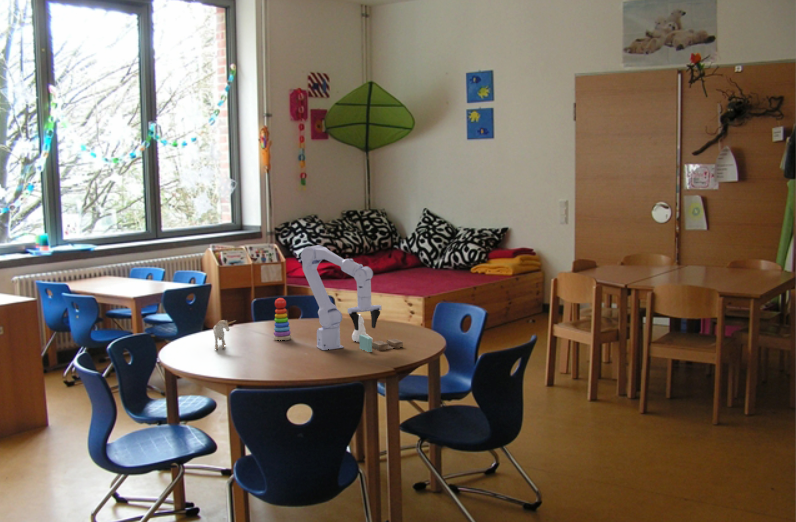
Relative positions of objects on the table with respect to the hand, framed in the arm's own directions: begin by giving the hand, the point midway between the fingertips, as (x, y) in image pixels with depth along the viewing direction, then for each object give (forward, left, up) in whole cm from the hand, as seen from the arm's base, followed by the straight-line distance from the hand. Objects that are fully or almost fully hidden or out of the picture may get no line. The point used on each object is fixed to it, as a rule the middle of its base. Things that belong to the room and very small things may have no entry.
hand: (365, 328), depth 312 cm
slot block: (+10, 0, -9) cm, 14 cm away
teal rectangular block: (0, 0, -9) cm, 9 cm away
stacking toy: (-23, +40, -9) cm, 47 cm away
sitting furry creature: (+6, +18, -9) cm, 21 cm away
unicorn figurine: (-49, +36, -9) cm, 62 cm away
